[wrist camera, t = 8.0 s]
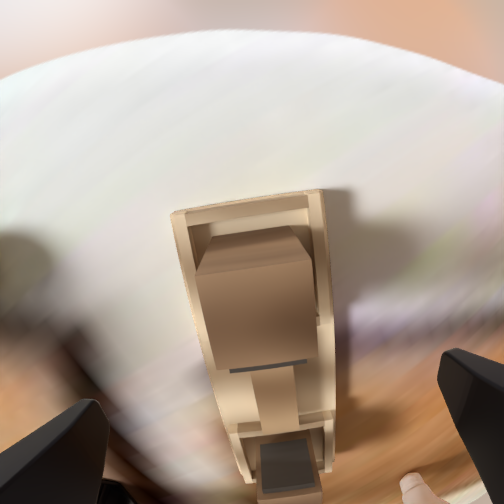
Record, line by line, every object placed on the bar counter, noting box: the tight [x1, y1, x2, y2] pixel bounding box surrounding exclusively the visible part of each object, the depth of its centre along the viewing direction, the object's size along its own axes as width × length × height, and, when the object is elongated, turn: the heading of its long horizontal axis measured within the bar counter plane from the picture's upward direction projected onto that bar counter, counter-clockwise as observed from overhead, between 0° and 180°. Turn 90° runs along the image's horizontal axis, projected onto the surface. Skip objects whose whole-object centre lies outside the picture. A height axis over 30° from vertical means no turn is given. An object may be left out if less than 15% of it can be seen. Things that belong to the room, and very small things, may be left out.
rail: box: [170, 189, 336, 504], centre depth 17 cm, size 22×8×7 cm, turn 9°
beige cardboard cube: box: [195, 225, 318, 374], centre depth 14 cm, size 5×4×6 cm
